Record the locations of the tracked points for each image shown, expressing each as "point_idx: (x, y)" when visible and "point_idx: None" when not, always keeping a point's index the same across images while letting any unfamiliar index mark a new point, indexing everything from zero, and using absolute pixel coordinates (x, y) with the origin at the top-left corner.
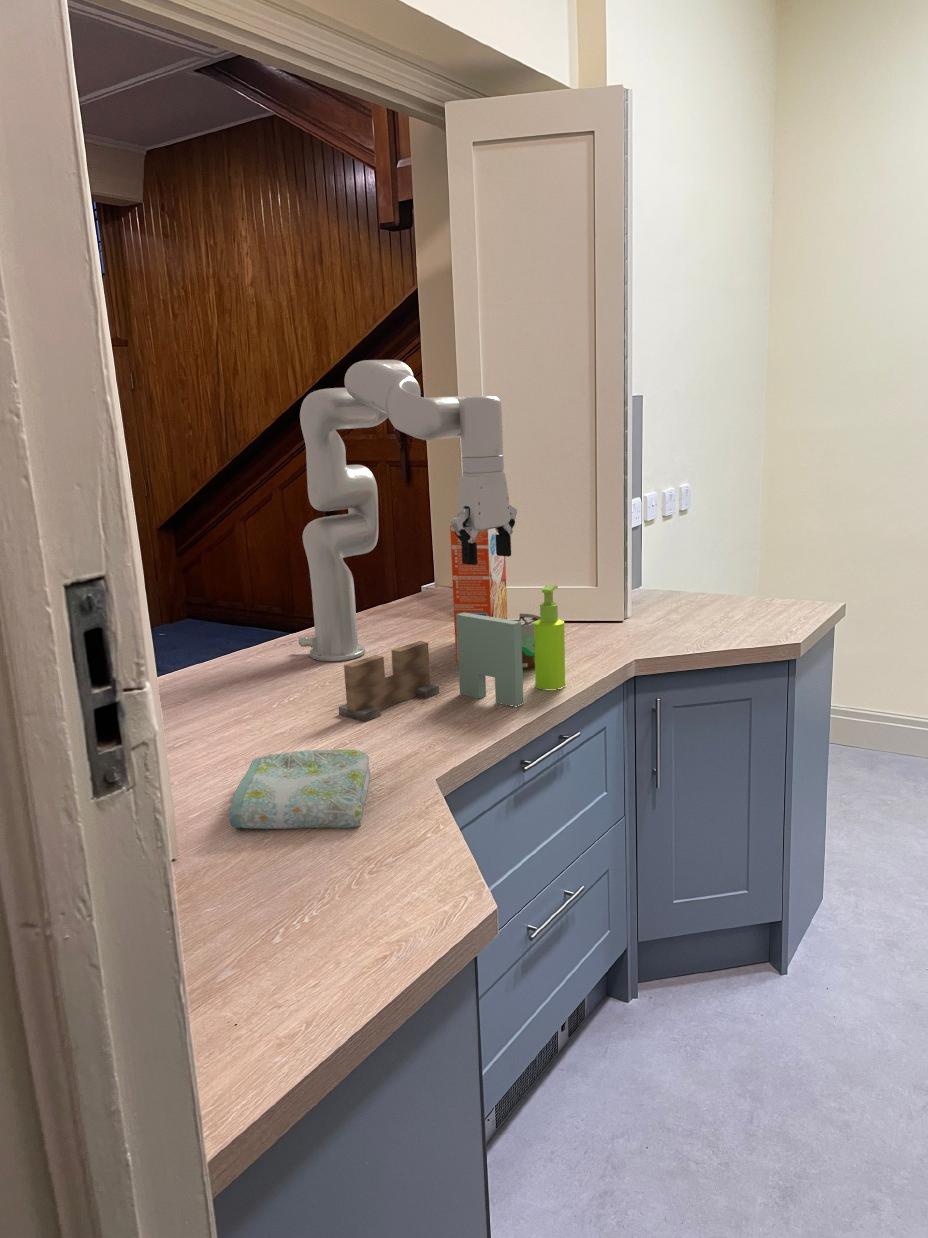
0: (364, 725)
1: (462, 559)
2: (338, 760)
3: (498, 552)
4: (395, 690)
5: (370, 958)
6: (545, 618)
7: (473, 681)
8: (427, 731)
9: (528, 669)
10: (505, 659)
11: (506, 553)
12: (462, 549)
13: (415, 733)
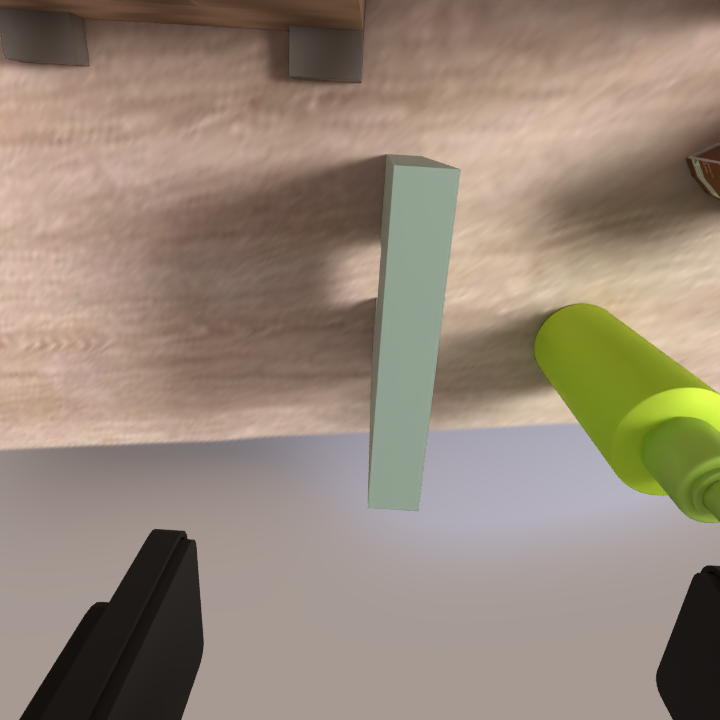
0: (5, 84)
1: (138, 556)
2: None
3: (703, 614)
4: (178, 14)
5: None
6: (649, 461)
7: (382, 223)
8: (103, 277)
9: (714, 196)
10: (372, 391)
11: (672, 687)
12: (32, 700)
13: (72, 260)
